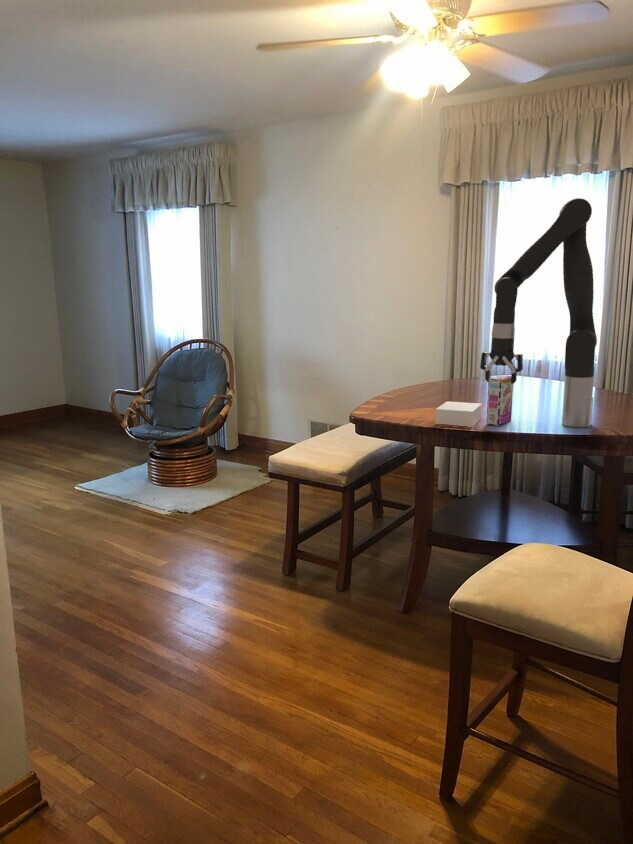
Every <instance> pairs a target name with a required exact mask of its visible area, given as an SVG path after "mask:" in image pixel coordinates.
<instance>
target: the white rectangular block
mask: <svg viewBox="0 0 633 844" xmlns="http://www.w3.org/2000/svg"><path fill="white" fill-rule="evenodd" d="M482 408H483V404H482V403H478V402H477V403H475V402H461V401H448V400H447V401H445V402H444V403H443V404H440V405H439V406H438V407H437V408H435V424H436V423H441V424H451V425H459V426H468V427H467V428H471V427H472V428H474V427H475V425H477V424H478V423H479V422H478V421H479V420H480V419H481V420H482V414H483V412H482V411H483V409H482ZM481 420H480V421H481ZM477 422H478V423H477ZM476 423H477V424H476Z"/></svg>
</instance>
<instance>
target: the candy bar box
mask: <svg viewBox="0 0 633 844" xmlns="http://www.w3.org/2000/svg"><path fill="white" fill-rule="evenodd" d="M487 383H488V386H487V403H486V405H487V406H486V420H485V421H486V425H487V424H488V425H487V426H493V425H495V426H494V427H499V426H503V425H504V424H506V423H509V422H511V421H512V414H513V413H512V412H513V411H512V410H513V409H512V408H513V395H514V384H511V375H499V376H495V377H492V378H490V379H489V382H487Z"/></svg>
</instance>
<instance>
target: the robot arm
mask: <svg viewBox="0 0 633 844" xmlns="http://www.w3.org/2000/svg"><path fill="white" fill-rule="evenodd" d="M592 209H593V208H592V205H591V203H590V202H589V201H588V200H586V199H585V198H581V197H580V198H579V197H576V198H573V199H570V200H568V201H567V202H566V203H564V204H563V205H562V207H561V208H560V210H559V212H558V213H559V214H558V217H557V218H556V219H555V220H554V222H553V223H552V225H551V226H550V227H549V228H548V229H547V230H546V231H545V232H544V233H543V234H542V235H541V236H540V237H539V238H538V239H537V240H536V241H535V242H534V243H532V245H530V247H528V248H527V250H525V251H524V252H523V254H522V255H520V257H519V258H518V260H516V261H515V263H514V264H513V265H512V267H510V268H509V269H507V271H506V272H504V274H503V275H501V277H499V278H498V279H497V281H496V282H495V284H494V292H495V294H496V295H495V307H494V310H493V324H492V330H491V344H490V352H488V351H483V352H481V357H480V365H479V368H480V369H481V370H482V371H485V373H484V374H485V377H484V378H485V380H486V383H488V382H489V379H491V374H492V371H491V369H492V368H493V367H494V366H495V365H496V366H502V367H506V366H507V367H508V369H510V370H509V371H511V375H510V376H511V384H513V385H514V384H515V383H516V382H517V378H518V377H517V375H518V373H519V372H520V373H521V372H522V371H523V369H524V368H523V367H524V366H523V365H524V363H523V362H524V355H523V353H518V354H517V353H515V352H514V348H515V331H516V330H515V322H516V321H515V317H516V304H517V298H518V291H519V290H518V288H519V287H520V286H522V284H523V283H524V282H525V281H526V280H528V279H529V278H530V277H532V276H533V275H534V274H535V273H536V272H537V270H539V269H540V268H541V266H542V265H543V264H544V263H545V262H546V261H547V260H548V259H549V257H550V256H551V255H552V254H553V253H554V252H555V251H556V249H557V248H558V247H559V246H561V244H562V247H563V248H562V249H563V250H562V251H563V254H562V255H563V256H562V257H563V259H562V261H563V262H562V266H563V269H562V274H563V275H562V277H563V288H564V296H565V300H566V303H567V308H568V313H569V334H568V336H567V338H566V342H565V353H564V383H563V384H564V386H563V400H562V402H563V403H562V415H561V416H562V417H561V425H563V426H565V427H570V428H571V427H572V428H590V427H591V425H592V423H593V422H592V420H593V407H594V396H593V394H594V391H593V390H594V379H595V378H594V377H595V354H596V348H597V343H598V338H597V333H596V328H595V321H594V313H593V311H594V293H595V292H594V273H593V272H594V271H593V270H594V268H593V264H592V263H593V262H592V259H591V256H590V255H591V254H590V251H589V249H588V244H587V225H588V224H587V223H588V222H589V220H590V219H591V217H592V213H593V210H592ZM488 358H490V359H491V361H490V362H489V363H488V365H487V359H488ZM513 359H515V360H516V361H517V362H516V363H517V367H516V366H515V364H514V362H513Z"/></svg>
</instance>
